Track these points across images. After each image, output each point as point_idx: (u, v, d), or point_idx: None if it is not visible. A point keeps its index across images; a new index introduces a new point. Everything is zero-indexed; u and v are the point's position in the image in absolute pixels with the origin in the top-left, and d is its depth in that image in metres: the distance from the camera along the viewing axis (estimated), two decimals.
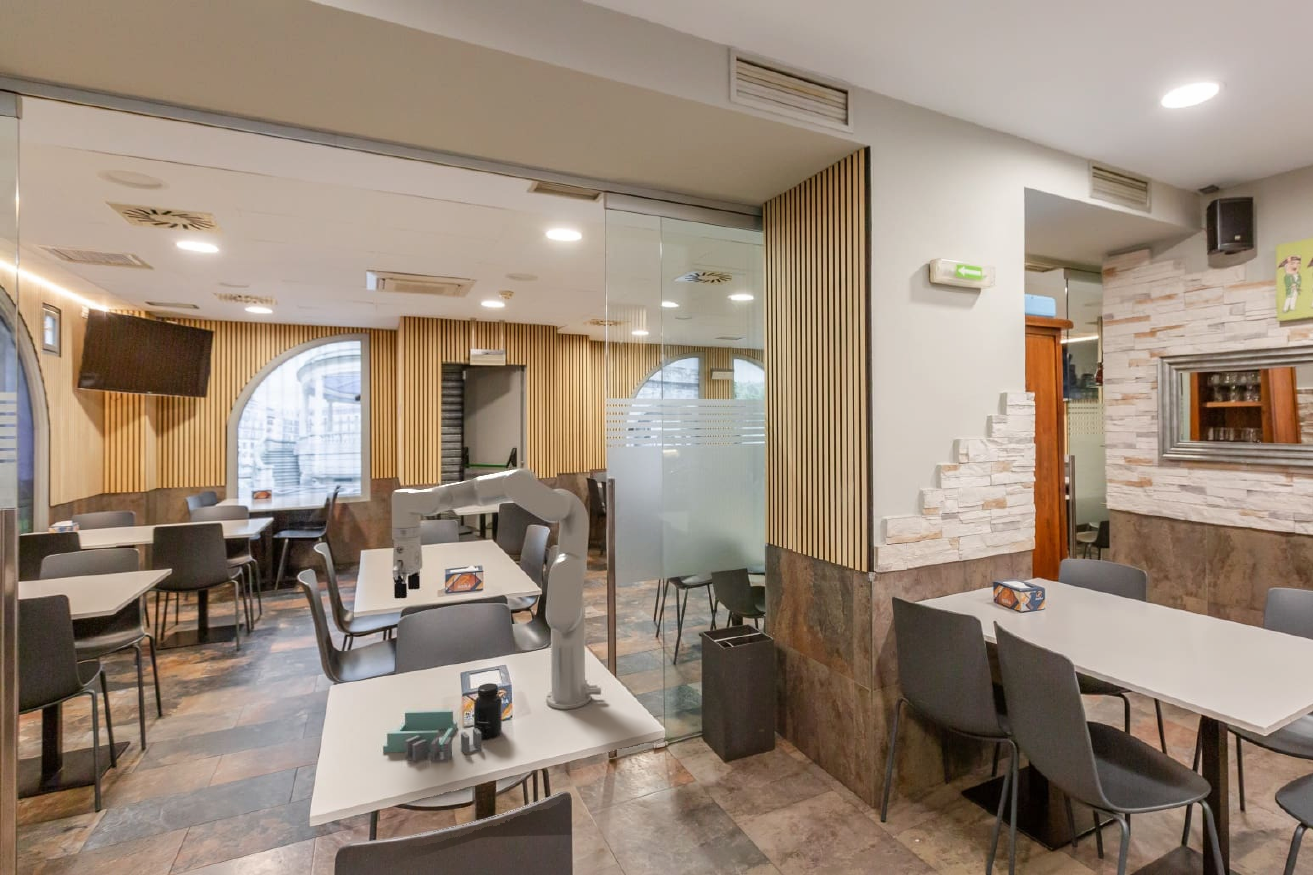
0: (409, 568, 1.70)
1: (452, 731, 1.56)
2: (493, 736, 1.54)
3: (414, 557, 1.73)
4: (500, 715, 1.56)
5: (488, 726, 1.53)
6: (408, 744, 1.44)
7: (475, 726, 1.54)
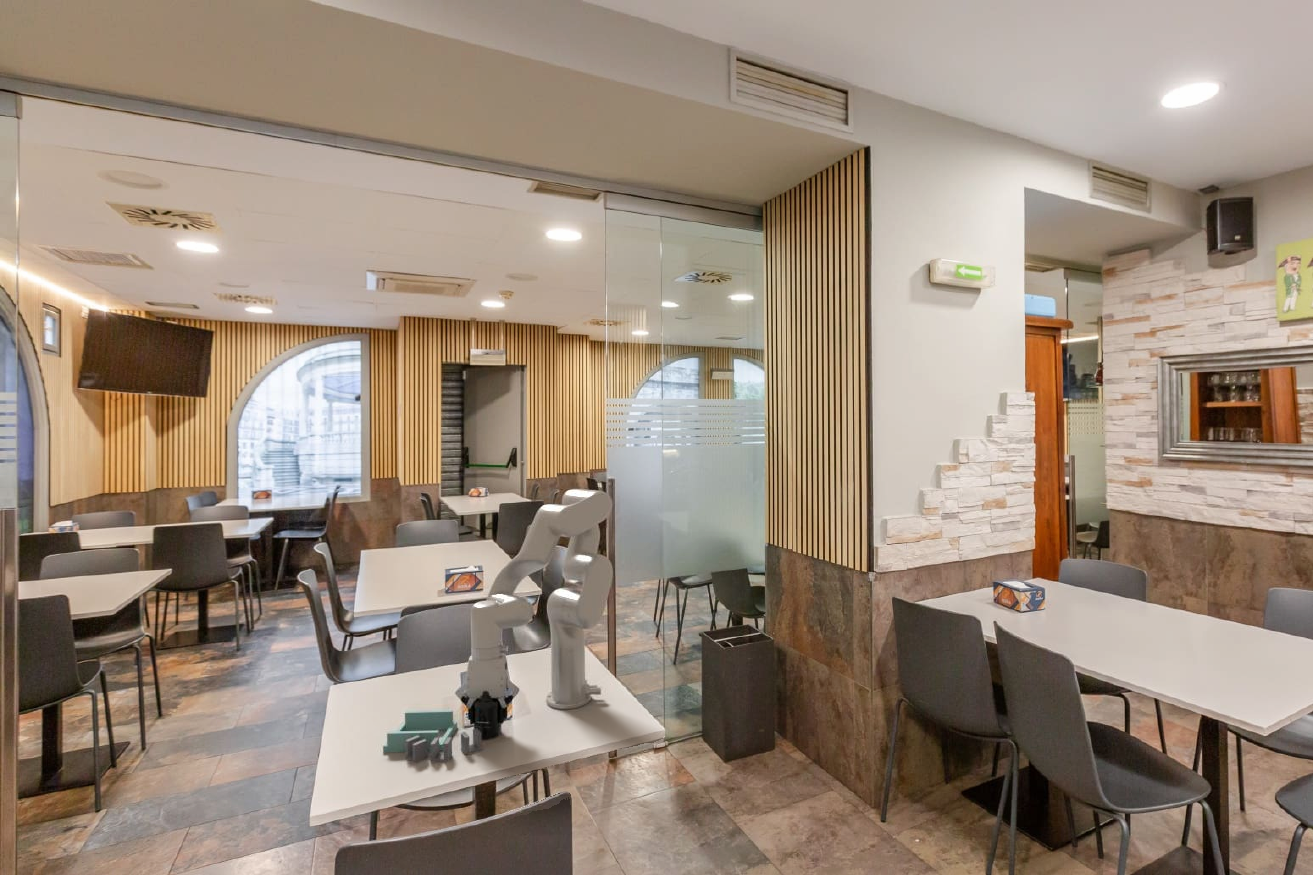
0: None
1: (452, 731, 1.56)
2: (493, 736, 1.53)
3: None
4: None
5: (488, 726, 1.53)
6: (408, 744, 1.44)
7: (475, 726, 1.54)
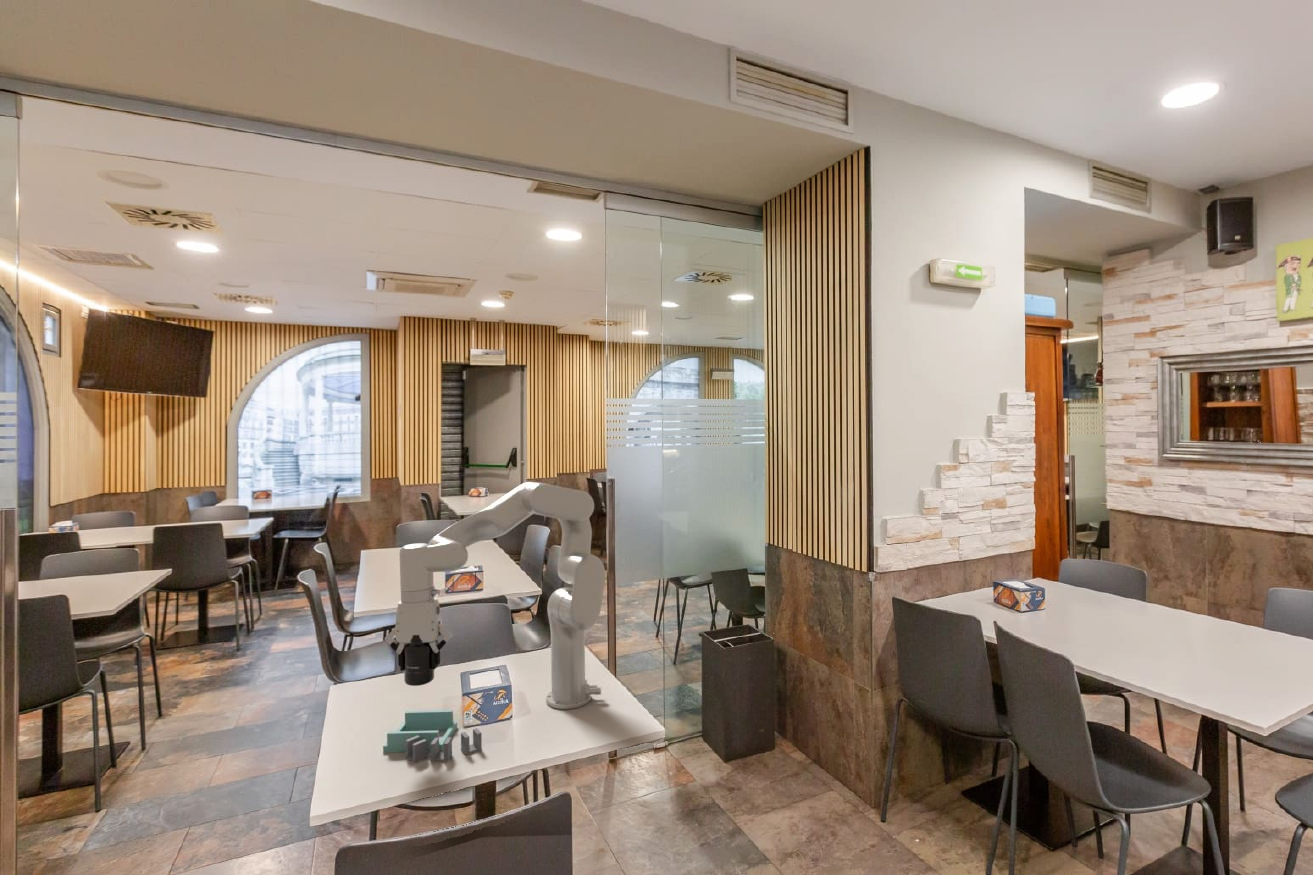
0: None
1: (452, 731, 1.56)
2: (424, 682, 1.48)
3: None
4: None
5: (418, 671, 1.47)
6: (408, 744, 1.44)
7: (405, 672, 1.48)
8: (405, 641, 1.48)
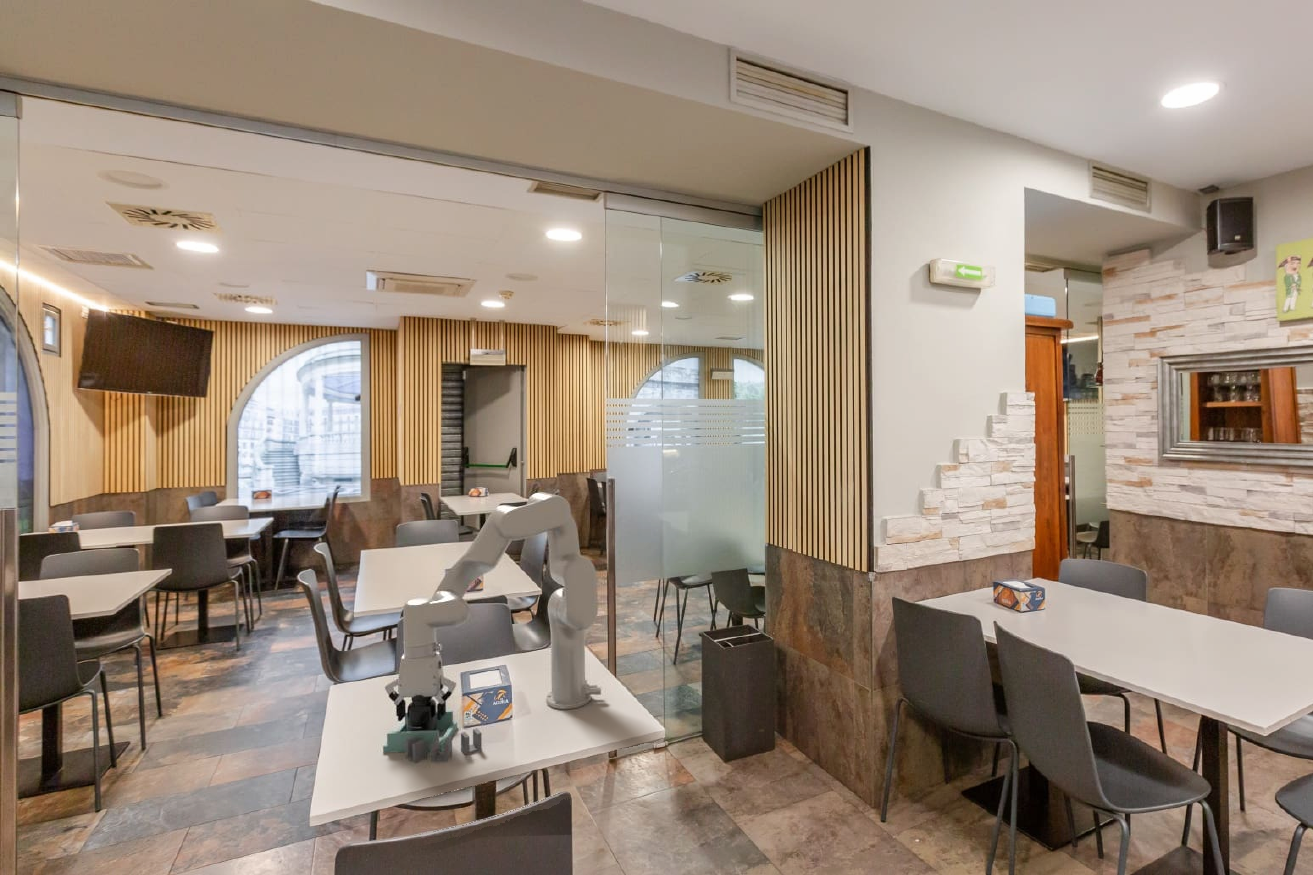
0: None
1: (452, 731, 1.56)
2: None
3: None
4: (434, 720, 1.53)
5: None
6: (408, 744, 1.44)
7: None
8: (407, 695, 1.52)
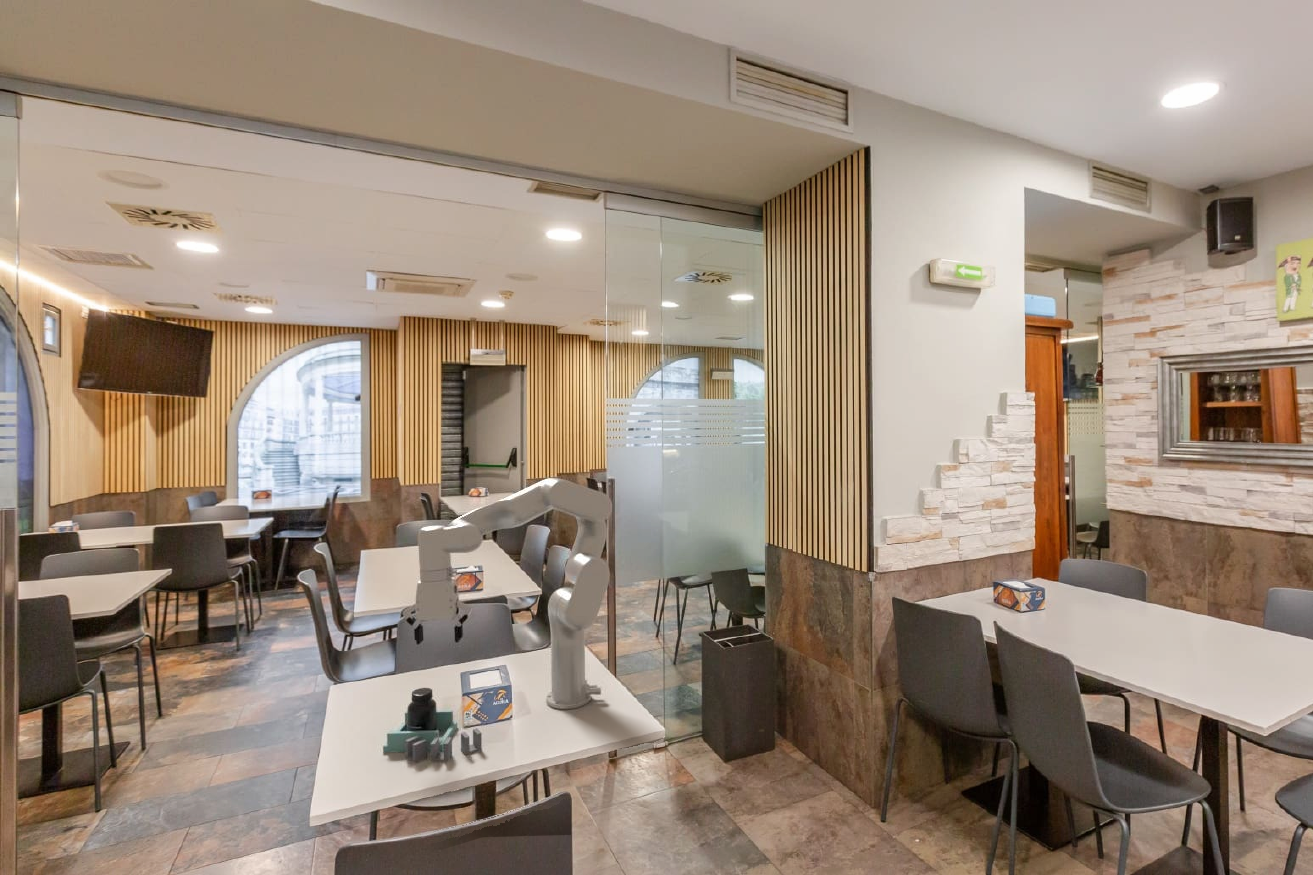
0: None
1: (452, 731, 1.56)
2: None
3: None
4: (434, 720, 1.53)
5: None
6: (408, 744, 1.44)
7: None
8: (425, 619, 1.55)
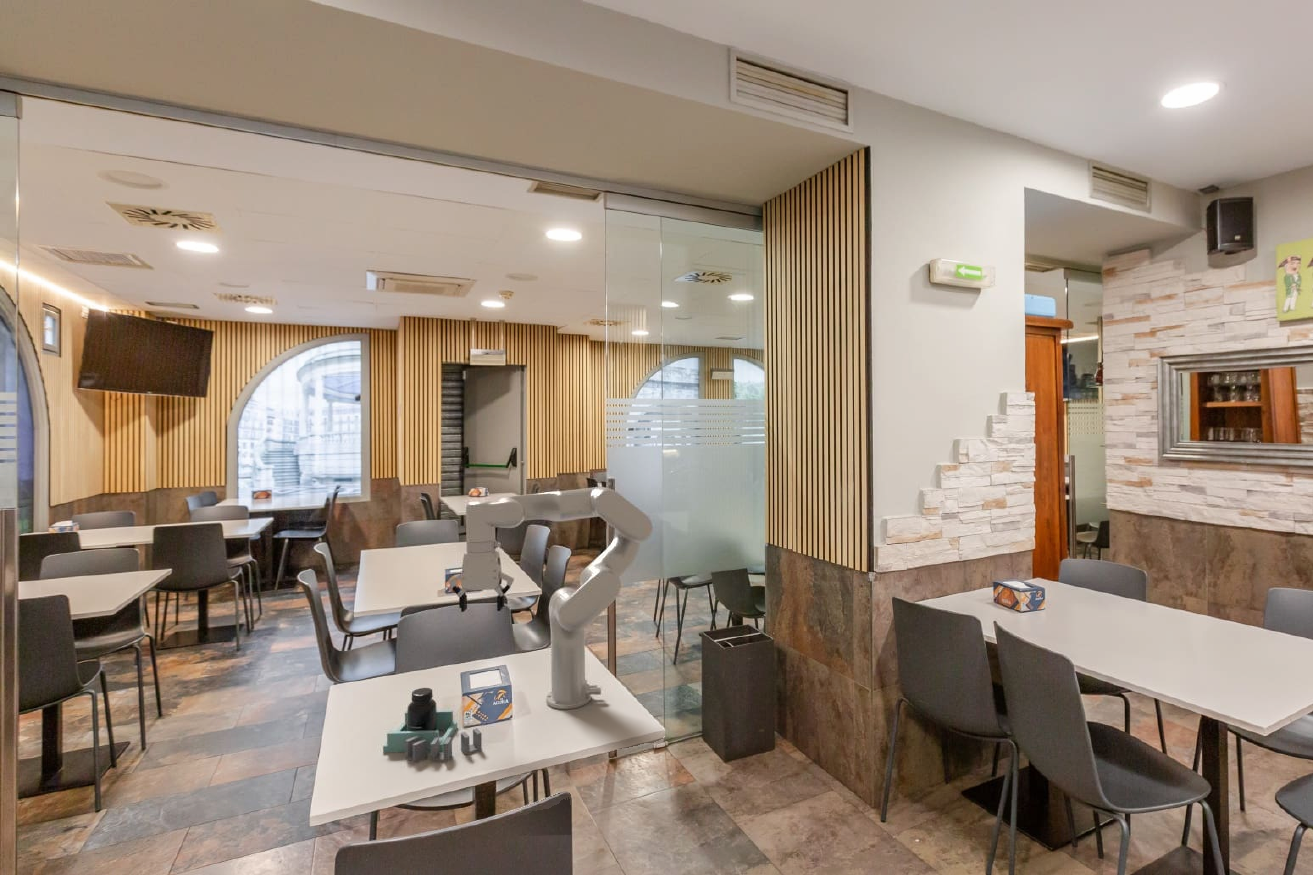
0: None
1: (452, 731, 1.56)
2: None
3: None
4: (434, 720, 1.53)
5: None
6: (408, 744, 1.44)
7: None
8: (470, 587, 1.65)
